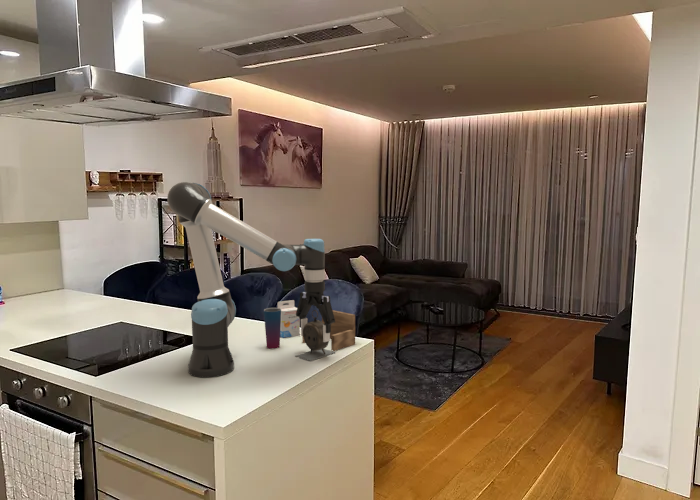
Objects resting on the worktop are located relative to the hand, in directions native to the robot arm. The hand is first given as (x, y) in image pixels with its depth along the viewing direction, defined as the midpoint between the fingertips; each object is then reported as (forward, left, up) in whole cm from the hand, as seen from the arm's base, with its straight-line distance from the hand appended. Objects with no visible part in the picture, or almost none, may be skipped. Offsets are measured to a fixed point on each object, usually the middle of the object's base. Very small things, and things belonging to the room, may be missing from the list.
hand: (315, 338), depth 183 cm
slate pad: (0, 0, -6) cm, 6 cm away
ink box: (+11, +28, -7) cm, 31 cm away
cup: (-4, +20, -7) cm, 21 cm away
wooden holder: (+14, +7, -6) cm, 17 cm away
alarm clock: (0, 0, -6) cm, 6 cm away
